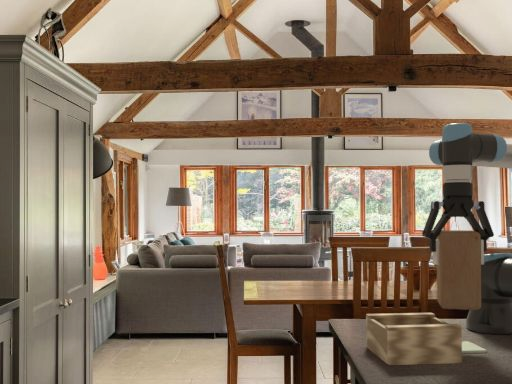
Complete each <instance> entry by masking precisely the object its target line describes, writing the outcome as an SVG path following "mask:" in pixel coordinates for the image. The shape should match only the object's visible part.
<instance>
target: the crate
mask: <svg viewBox="0 0 512 384" xmlns="http://www.w3.org/2000/svg"><path fill="white" fill-rule="evenodd" d="M365 325H366V326H365V335H366V336H365V337H366V338H365V343H366V344H365V347H366V349H368V350H369V351H370V352H371V353H373V354H374V355H375V356H377V357H378V358H379V359H381V360H382V361H383V362H385V364H387V365H388V366H403V365H404V366H409V365H434V364H435V365H441V364H443V365H444V364H463V353H462V342H463V341H462V340H463V336H462V335H463V334H462V333H463V332H462V329H463V327H462V325H460V324H458V323H450V322H449V323H448V322H447V321H444V320H442V319H440V318H437V317H436V315H435V313H433V312H403V313H402V312H400V313H399V312H398V313H397V312H395V313H365Z"/></svg>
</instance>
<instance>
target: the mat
mask: <svg viewBox="0 0 512 384" xmlns="http://www.w3.org/2000/svg"><path fill="white" fill-rule="evenodd" d="M477 353H478V354H483V353H488V350H487V349H486V348H483V347H481V346H479V345H478V344H475V343H472V342H471V341H468V340H466V341H464V340H463V341H462V354H477Z"/></svg>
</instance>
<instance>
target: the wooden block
mask: <svg viewBox="0 0 512 384" xmlns="http://www.w3.org/2000/svg"><path fill="white" fill-rule="evenodd" d="M436 240H440V265H436V298H437V299H436V300H437V302H438V304H439V305H440V307H441V308H442V309H443V310H478V309H480V308H481V236H480V233H478V232H476V231H474V230H460V229H459V230H456V229H455V230H444V229H442V231H441V232H440V234H439V235H438V237H437V238H436Z"/></svg>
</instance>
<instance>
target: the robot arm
mask: <svg viewBox="0 0 512 384" xmlns="http://www.w3.org/2000/svg"><path fill="white" fill-rule="evenodd" d="M473 131H474V130H473V127H472V124H470V123H467V122H456V123H448V124H446V125H444V126H443V127H442V133H441V134H442V137H441V139H438V140H434V141H433V142H432V143H431V144H430V146H429V149H428V155H429V158H430V159H429V160H431V162H432V163H433V164H434V165H437V166H442V181H443V184H442V201H439V200H433V201H431V202H430V204H431V205H430V212H429V214H428V217H427V219H426V223H425V226H424V228H423V230H422V234H421V236H422V237H424V238H426V239H428V242H429V247H428V248H429V251H430V253H432V265H436V266H437V265H440V240H437V237H438V235H439V234H440V232H441V231H442V230H444V228H445V227H446V225H447V223H448V222H449V220H451V218H458V217H459V218H464V219H466V221H467V222H468V224H469V225H470V227H471V229H472V231H476V232H478V233H480V236H481V308H480V309H478V310H469V311H468V314H467V317H466V320H465V327H466V329H467V330H469V331H473V332H477V333H484V334H492V335H493V334H494V335H511V334H512V253H511V252H500V253H487V254H486V253H485V252H487V250H488V249H487V240H489V239H490V238H493V237H494V231H493V229H492V226H491V223H490V220H489V217H488V215H487V213H486V210H485V209H486V208H485V201H483V200H482V201H481V200H480V201H478V200H477V201H474V199H473V194H474V193H473V189H474V188H473V185H474V184H473V183H472V182H471V181H472V180H473V178H474V177H473V167H485V168H500V169H512V143H510V144H509V143H507V141H506V140H505V138H504V137H503V136H502V135H499V134H494V133H479V132H473ZM442 208H443V209H444V211H443V212H442V214H441V217H440V218H439V219H438V221H437V217H438V215H439V212H440V210H441V209H442ZM473 208H474V209H475V211H476V214H477V217H478V220H479V222H478V220H477V219H476V218H475V214H474V213H473V212H472V209H473ZM436 221H437V222H436ZM435 223H436V224H435Z"/></svg>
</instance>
